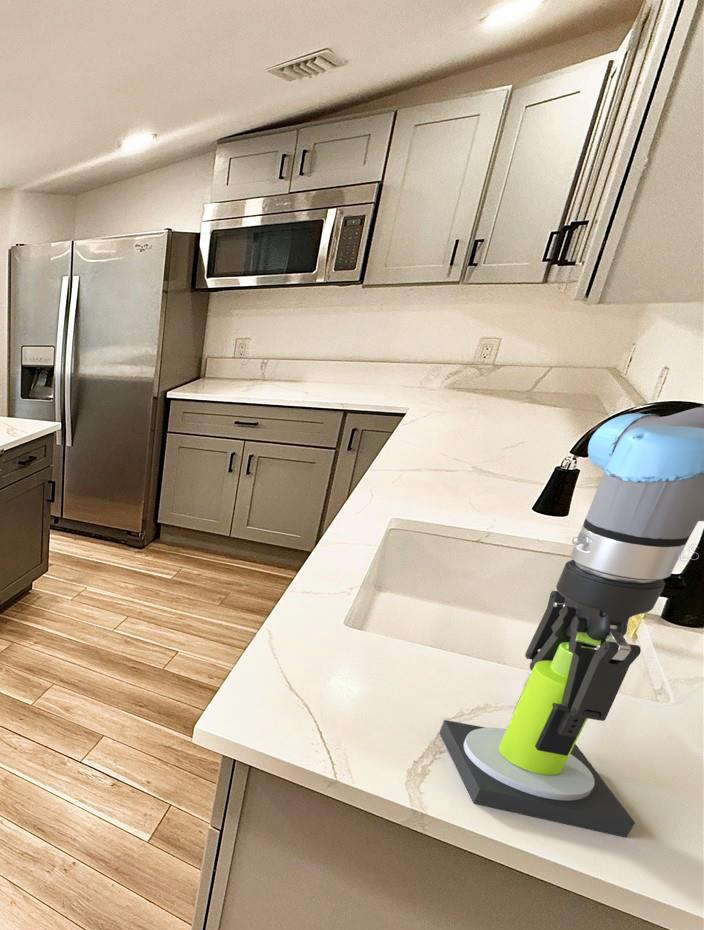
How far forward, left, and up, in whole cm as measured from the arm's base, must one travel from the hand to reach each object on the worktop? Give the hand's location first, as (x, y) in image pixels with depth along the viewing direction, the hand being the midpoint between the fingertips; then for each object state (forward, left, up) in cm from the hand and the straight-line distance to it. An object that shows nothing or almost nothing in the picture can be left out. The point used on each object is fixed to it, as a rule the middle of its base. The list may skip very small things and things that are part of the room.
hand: (539, 733), depth 77 cm
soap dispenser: (0, 0, -4) cm, 4 cm away
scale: (-1, 0, -8) cm, 8 cm away
